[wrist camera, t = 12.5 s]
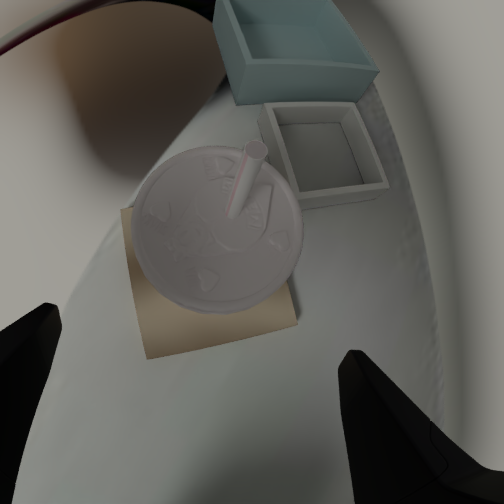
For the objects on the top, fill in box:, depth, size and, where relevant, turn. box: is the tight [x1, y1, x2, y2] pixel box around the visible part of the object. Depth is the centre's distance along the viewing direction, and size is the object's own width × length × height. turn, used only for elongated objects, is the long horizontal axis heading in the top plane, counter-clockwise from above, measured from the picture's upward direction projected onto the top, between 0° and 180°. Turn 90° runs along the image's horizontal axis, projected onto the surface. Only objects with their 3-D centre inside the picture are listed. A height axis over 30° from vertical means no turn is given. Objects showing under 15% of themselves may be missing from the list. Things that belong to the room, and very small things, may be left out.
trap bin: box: [212, 0, 380, 105], centre depth 25 cm, size 12×12×5 cm
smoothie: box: [131, 140, 304, 315], centre depth 14 cm, size 6×6×14 cm
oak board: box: [121, 207, 298, 360], centre depth 21 cm, size 10×10×1 cm
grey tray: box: [258, 102, 390, 210], centre depth 24 cm, size 8×8×2 cm
